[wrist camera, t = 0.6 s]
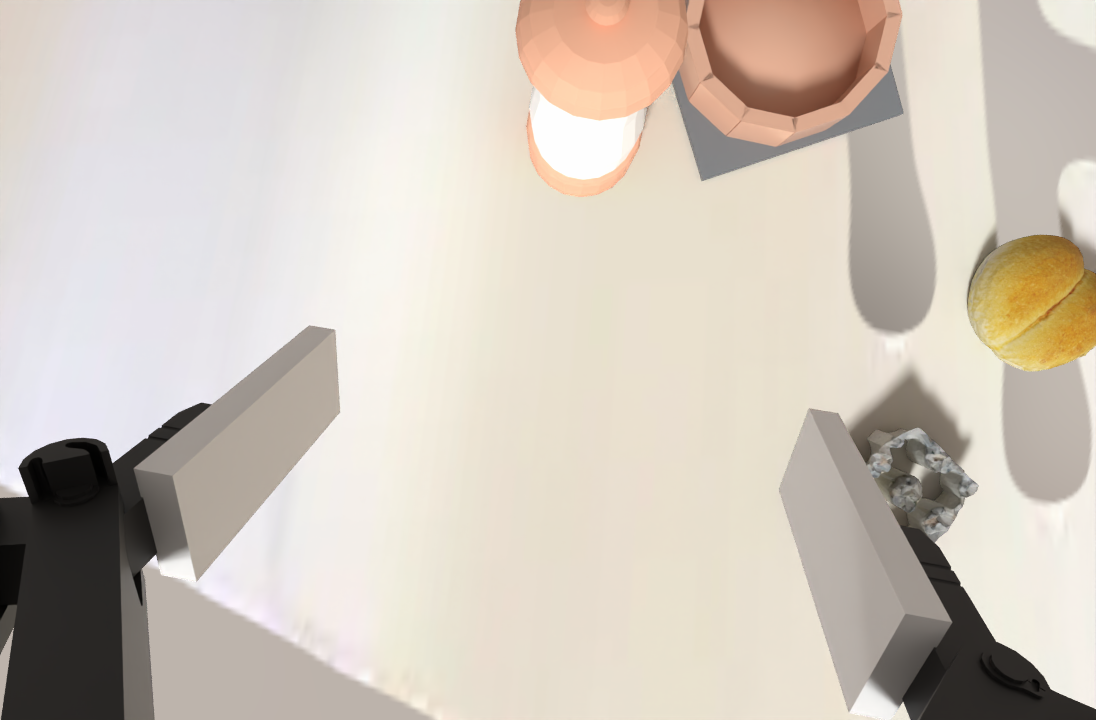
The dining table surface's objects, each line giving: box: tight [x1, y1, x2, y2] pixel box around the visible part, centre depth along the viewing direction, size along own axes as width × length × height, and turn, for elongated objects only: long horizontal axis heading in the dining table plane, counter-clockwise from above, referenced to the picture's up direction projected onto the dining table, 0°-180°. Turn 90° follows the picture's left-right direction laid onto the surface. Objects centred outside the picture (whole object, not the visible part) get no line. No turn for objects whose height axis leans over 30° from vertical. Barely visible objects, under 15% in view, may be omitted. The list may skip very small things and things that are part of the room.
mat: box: [672, 65, 903, 181], centre depth 40 cm, size 14×14×1 cm
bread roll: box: [968, 235, 1096, 371], centre depth 40 cm, size 8×9×4 cm
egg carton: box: [866, 427, 979, 543], centre depth 41 cm, size 11×8×4 cm
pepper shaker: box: [516, 0, 688, 197], centre depth 31 cm, size 7×7×19 cm
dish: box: [679, 0, 902, 147], centre depth 38 cm, size 13×13×3 cm
